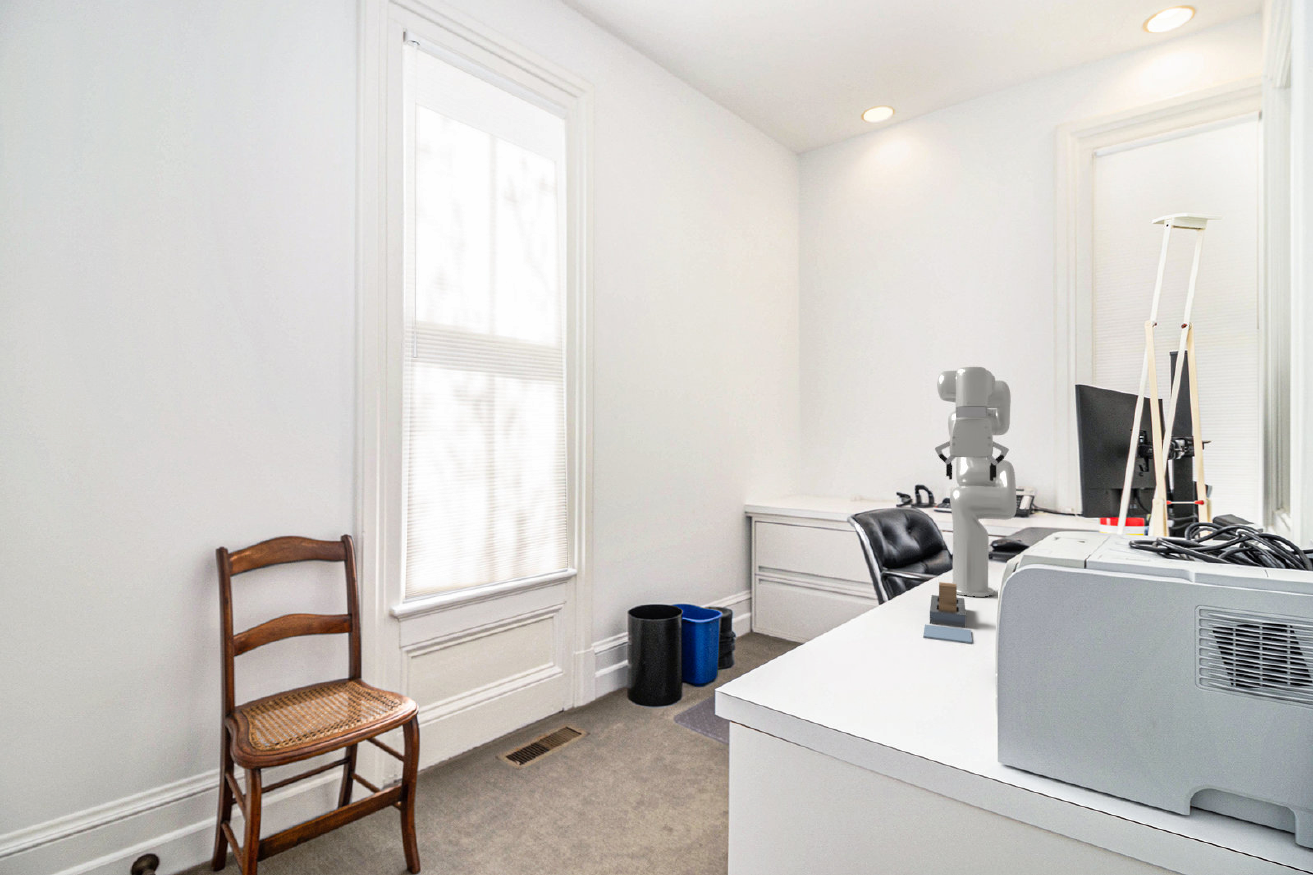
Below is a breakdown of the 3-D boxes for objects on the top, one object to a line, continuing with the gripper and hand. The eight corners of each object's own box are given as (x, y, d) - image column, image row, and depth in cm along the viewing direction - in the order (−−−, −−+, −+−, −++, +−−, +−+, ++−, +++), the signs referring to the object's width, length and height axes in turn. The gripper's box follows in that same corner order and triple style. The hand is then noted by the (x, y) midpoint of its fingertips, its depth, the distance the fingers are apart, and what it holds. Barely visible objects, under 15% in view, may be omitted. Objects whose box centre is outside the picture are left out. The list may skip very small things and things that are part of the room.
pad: (924, 626, 157) (924, 624, 157) (970, 631, 153) (970, 629, 153) (923, 637, 148) (923, 635, 148) (971, 643, 144) (971, 642, 144)
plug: (939, 617, 165) (939, 582, 165) (956, 619, 163) (956, 583, 163) (938, 621, 161) (939, 585, 161) (956, 623, 160) (956, 587, 160)
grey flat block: (931, 606, 176) (931, 595, 176) (964, 609, 173) (964, 598, 173) (929, 623, 160) (929, 611, 160) (965, 627, 156) (965, 615, 156)
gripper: (1007, 415, 169) (1007, 480, 168) (935, 415, 176) (934, 478, 175) (1010, 413, 162) (1009, 481, 162) (935, 413, 169) (934, 479, 169)
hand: (970, 480), depth 168 cm, fingers open, 9 cm apart
